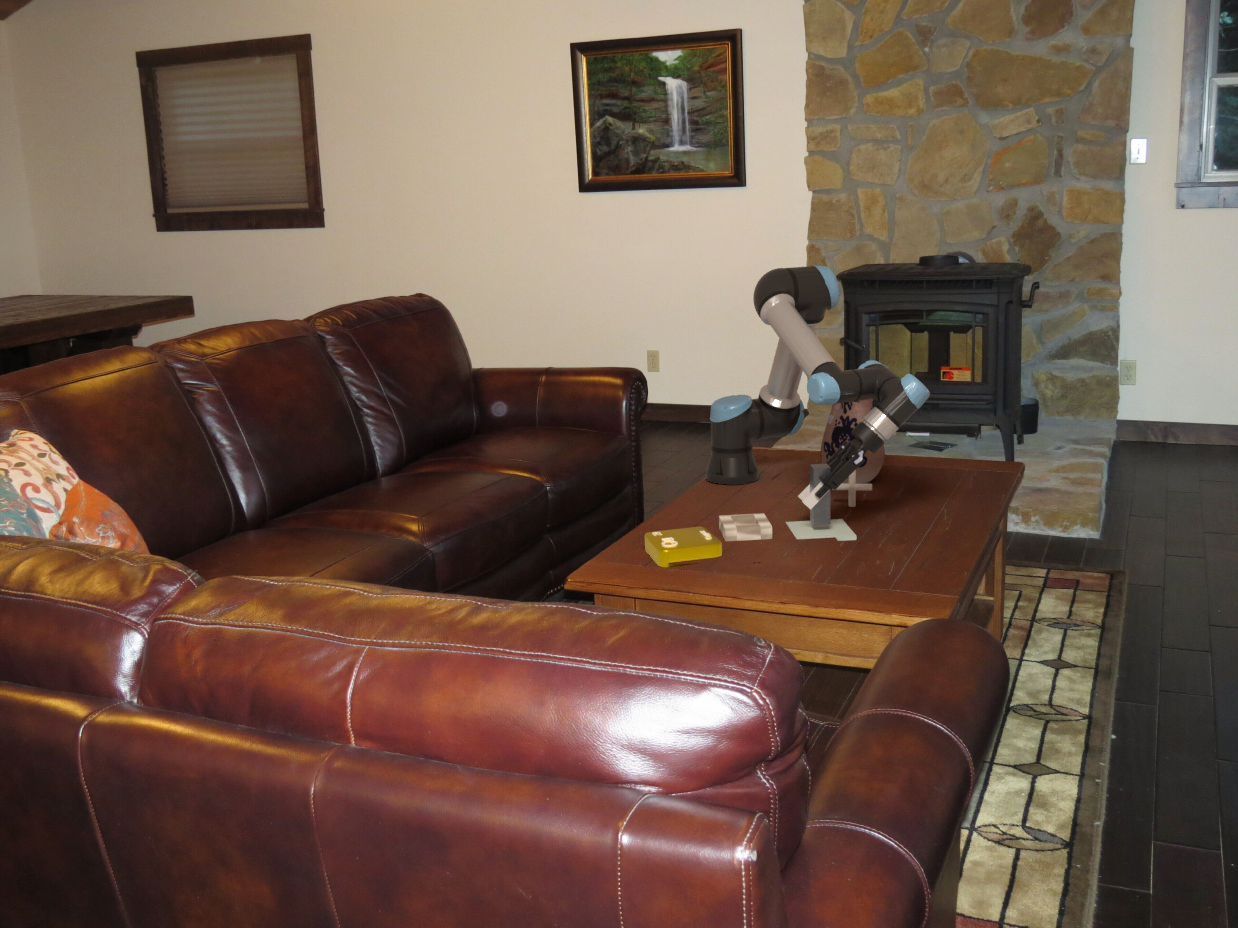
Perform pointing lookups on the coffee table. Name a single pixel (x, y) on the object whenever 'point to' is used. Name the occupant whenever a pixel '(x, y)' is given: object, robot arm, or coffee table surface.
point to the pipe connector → (853, 489)
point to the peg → (822, 508)
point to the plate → (822, 530)
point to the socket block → (745, 527)
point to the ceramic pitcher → (850, 437)
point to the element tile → (681, 545)
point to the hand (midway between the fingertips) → (804, 502)
